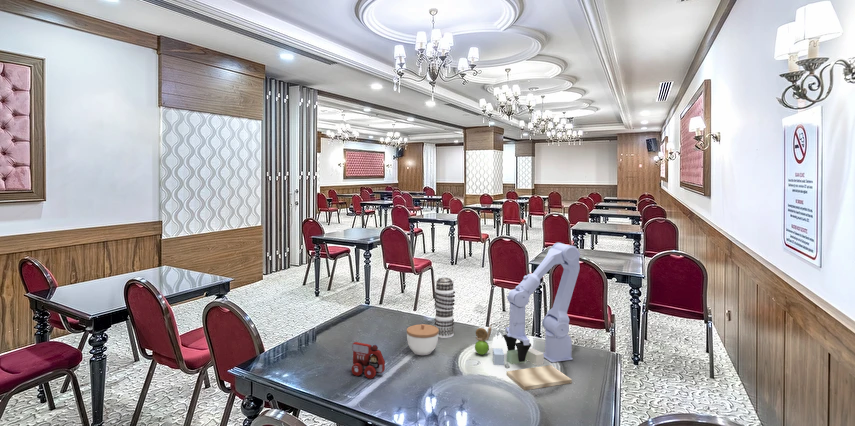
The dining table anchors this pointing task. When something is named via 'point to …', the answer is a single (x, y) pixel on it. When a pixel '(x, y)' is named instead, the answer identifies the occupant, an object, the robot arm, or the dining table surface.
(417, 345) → the lidded bowl
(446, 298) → the banded tower model
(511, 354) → the green brick
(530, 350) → the ivory brick
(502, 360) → the blue brick
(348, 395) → the dining table surface
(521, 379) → the birch board
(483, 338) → the snail figurine
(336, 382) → the dining table surface
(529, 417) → the dining table surface
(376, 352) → the toy fire truck
